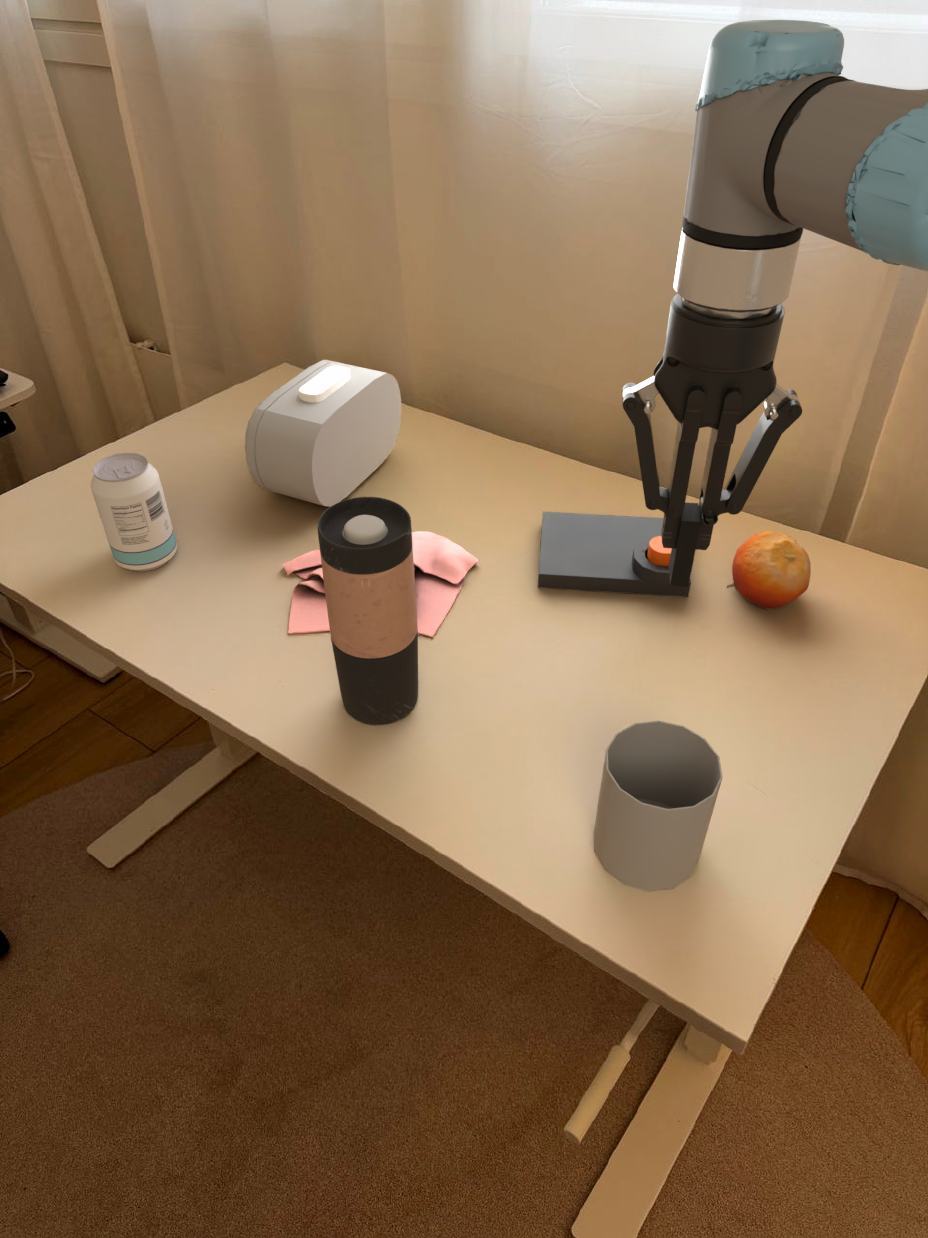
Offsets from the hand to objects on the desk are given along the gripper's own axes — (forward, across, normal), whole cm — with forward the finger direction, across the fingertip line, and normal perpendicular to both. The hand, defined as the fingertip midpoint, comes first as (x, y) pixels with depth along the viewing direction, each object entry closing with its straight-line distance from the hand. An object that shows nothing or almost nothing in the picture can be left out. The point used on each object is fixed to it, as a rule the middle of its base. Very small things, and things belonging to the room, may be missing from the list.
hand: (678, 576), depth 75 cm
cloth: (+14, +30, -13) cm, 36 cm away
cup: (+14, +2, +17) cm, 22 cm away
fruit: (+14, -12, -16) cm, 24 cm away
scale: (+14, +4, -21) cm, 25 cm away
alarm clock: (+14, +40, -34) cm, 54 cm away
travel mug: (+14, +26, +4) cm, 30 cm away
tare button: (+11, -1, -17) cm, 20 cm away
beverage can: (+14, +56, -15) cm, 60 cm away
